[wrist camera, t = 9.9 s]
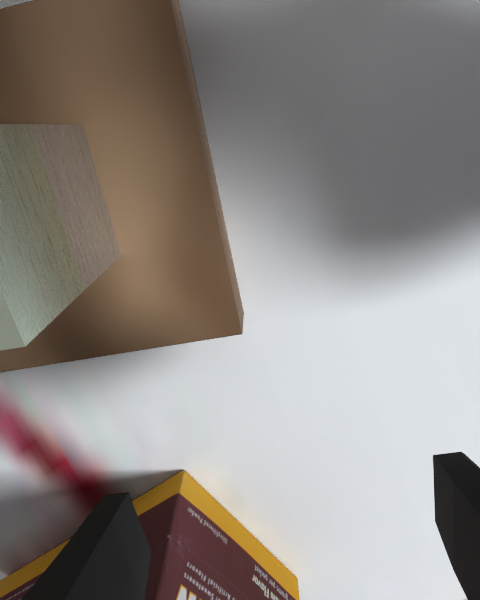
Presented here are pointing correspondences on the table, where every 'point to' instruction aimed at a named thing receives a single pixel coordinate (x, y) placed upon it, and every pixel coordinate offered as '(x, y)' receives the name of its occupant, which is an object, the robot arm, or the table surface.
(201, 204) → the walnut stand
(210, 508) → the supplement box
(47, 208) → the block
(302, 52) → the table surface
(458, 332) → the table surface
